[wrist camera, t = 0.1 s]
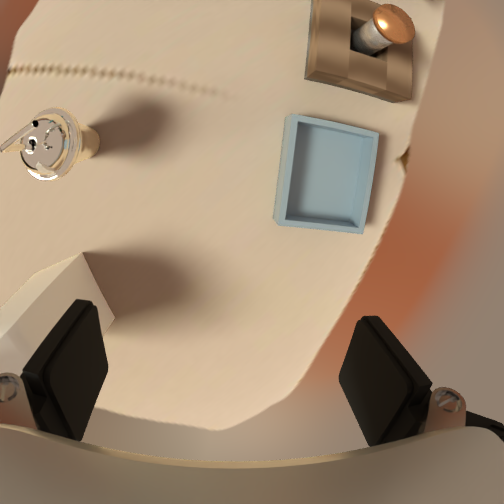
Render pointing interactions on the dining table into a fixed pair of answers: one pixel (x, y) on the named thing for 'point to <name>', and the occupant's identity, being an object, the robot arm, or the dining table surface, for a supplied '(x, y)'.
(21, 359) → the milk
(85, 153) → the cup with straw
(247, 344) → the dining table surface
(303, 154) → the tray
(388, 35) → the copper capped shaker
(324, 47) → the square wooden block
